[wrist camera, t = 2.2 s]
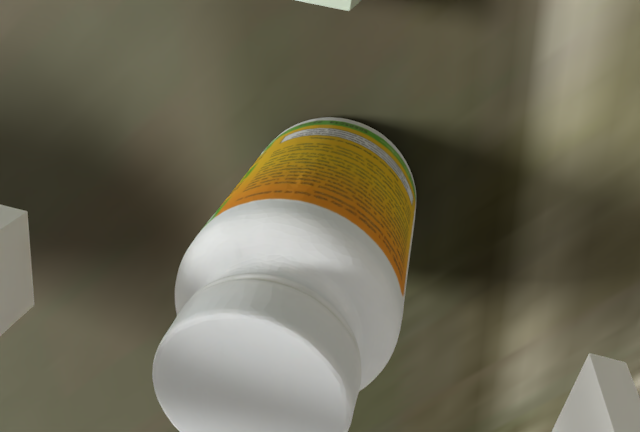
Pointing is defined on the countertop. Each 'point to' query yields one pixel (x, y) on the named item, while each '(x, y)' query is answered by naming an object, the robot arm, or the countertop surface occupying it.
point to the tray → (335, 3)
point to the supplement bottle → (292, 287)
